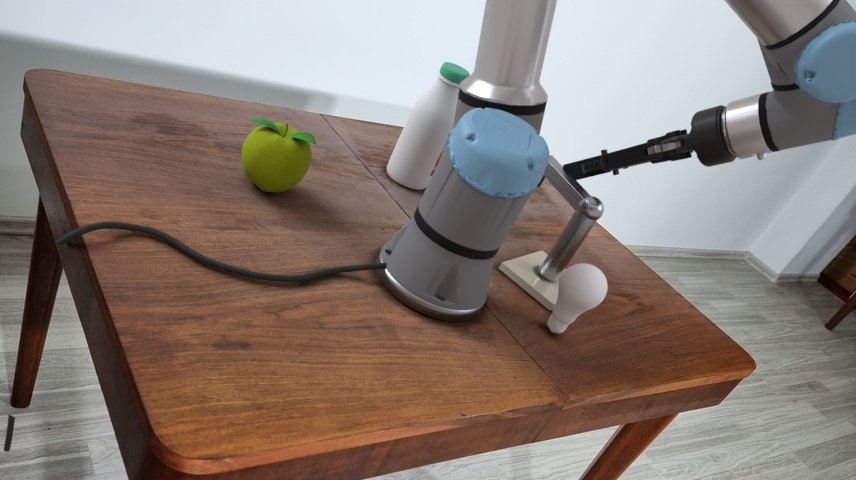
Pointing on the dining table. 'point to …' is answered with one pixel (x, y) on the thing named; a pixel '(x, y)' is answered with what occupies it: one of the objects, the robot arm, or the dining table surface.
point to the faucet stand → (532, 277)
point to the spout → (579, 224)
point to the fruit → (276, 155)
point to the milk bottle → (427, 130)
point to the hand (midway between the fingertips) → (566, 173)
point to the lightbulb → (577, 295)
